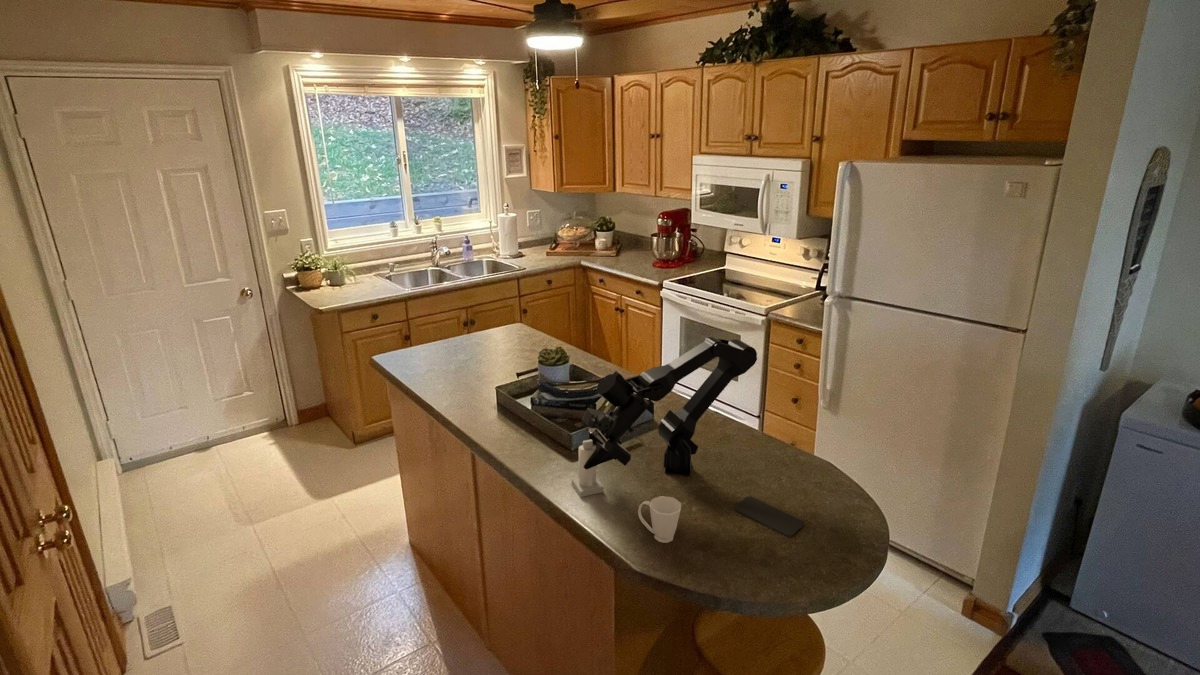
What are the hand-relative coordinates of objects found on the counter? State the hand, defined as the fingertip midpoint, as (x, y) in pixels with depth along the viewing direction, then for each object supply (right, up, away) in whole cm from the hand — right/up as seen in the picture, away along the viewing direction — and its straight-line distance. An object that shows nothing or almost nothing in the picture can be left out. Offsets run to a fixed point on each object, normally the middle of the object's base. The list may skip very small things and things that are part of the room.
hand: (582, 464), depth 152 cm
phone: (+43, -11, -7) cm, 45 cm away
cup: (+17, -13, -14) cm, 25 cm away
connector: (+1, -6, +3) cm, 7 cm away
